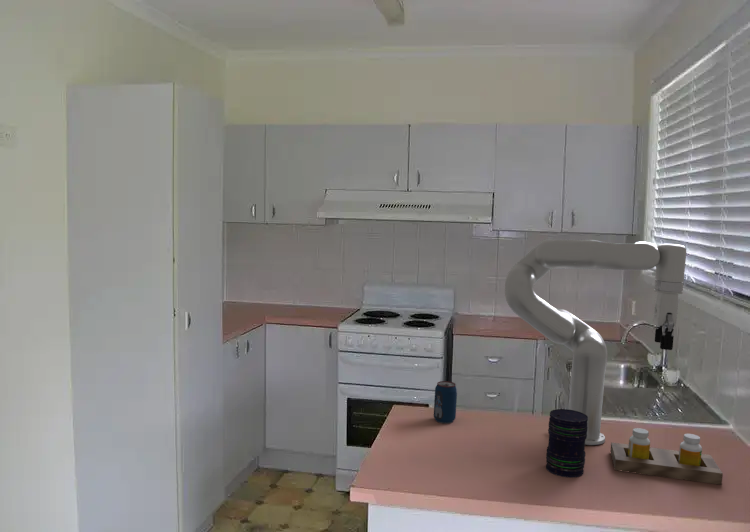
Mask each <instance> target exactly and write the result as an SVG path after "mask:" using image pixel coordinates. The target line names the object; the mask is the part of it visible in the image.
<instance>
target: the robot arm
mask: <svg viewBox="0 0 750 532" xmlns="http://www.w3.org/2000/svg"><path fill="white" fill-rule="evenodd" d="M686 260H687V248H686V246H684V245H682V244H674V243H662V244H661V243H653V242H648V241H636V242H635V243H626V242H625V243H619V242H618V243H616V242H607V241H606V242H605V241H600V240H595V239H553V238H547V239H543V240H540V242H538V244H537V245H536V246H534V248H533V249H531V250H530V251H528V253H527V254H526V255H524V257H523V258H521V259H520V260H519V261H518V262H517V263H515V264H514V265H513V266H512V267H511V268H510V269H509V271H508V273H507V275H506V278H505V281H504V296H505V301H506V302H507V305H508V307H509V308H510V309H511V311H512V312H514V314H515V315H517V316H518V317H519V318H520V319H521V320H523V321H524V322H525V323H527V324H528V325H530V326H531V327H532V328H533V329H535V330H536V331H537V332H539V333H540V334H541V335H543V336H544V337H545V338H547V340H549V341H550V342H552V343H554V344H557V345H563V346H564V347H566V348H567V349H569V350H570V351H571V352H572V362H571V370H570V372H571V373H570V383H569V385H570V387H569V401H568V410H574V411H578V412H581V413H584V414H585V415H587V416H588V421H587V423H588V424H587V427H588V430H587V438H586V439H585V446H586V445H587V446H597V445H602V444H604V443H605V442H606V436H605V435H604V433H601V427H602V426H601V423H602V415H603V404H604V403H603V401H604V392H605V391H604V387H605V380H606V379H605V378H606V376H605V375H606V370H607V363H608V348H607V344H606V342H605V340H604V338H603V337H602V335H601V334H600V333H599V332H598V331H596V329H594V328H593V327H591V326H590V325H588V324H587V323H586V322H584V321H582V320H581V319H579V317H577V316H576V315H574V314H573V313H571V312H570V311H568V310H566V309H563V308H556V307H554V306H553V305H551V304H549V302H547V301H546V300H544V299H543V298H541V297H540V296H539V295H537V294H536V292H535V290H534V286H535V284H536V283H537V282H538V281H539V280H540V279H542V278H544V276H546V274H548V273H549V272H550V271H551V270H552V269H556V270H557V269H560V270H561V269H571V270H572V269H573V270H575V269H577V270H578V269H580V270H615V271H616V270H617V271H618V270H620V271H648V270H651V269H654V268H655V277H654V286H653V291H654V292H656V295H655V300H654V301H655V302H654V309H653V314H652V315H653V317H652V322H653V323H654V325H655V327H656V328H655V331H654V342H655V343H658V344H659V343H660V345H659V348H660V350H665V351H672V350H673V349H674V348H673V347H674V337H675V336H674V335H675V334H674V328H676V325H677V319H678V310H679V309H678V308H679V295H682V294H683V291H684V282H685V281H684V280H685V273H686V272H685V270H686Z"/></svg>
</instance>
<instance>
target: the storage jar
mask: <svg viewBox="0 0 750 532" xmlns="http://www.w3.org/2000/svg"><path fill="white" fill-rule="evenodd" d="M587 421H588V416H587V415H585V414H584V413H581V412H578V411H574V410H569V408H568V409H567V408H557V409H552V410H551V411H550V412H549V421H548V429H547V431H548V433H547V434H548V445H547V446H546V455H545V459H546V460H545V461H546V465H545V469H546V470H547V471H548V472H549V473H551V474H553V475H555V476H558V477H562V478H572V479H573V478H579V477H582V476H583V475H584V472H585V471H584V470H585V464H586V451H585V447H586V445H585V439H586V438H587V430H588V427H587V424H588V423H587Z"/></svg>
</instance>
